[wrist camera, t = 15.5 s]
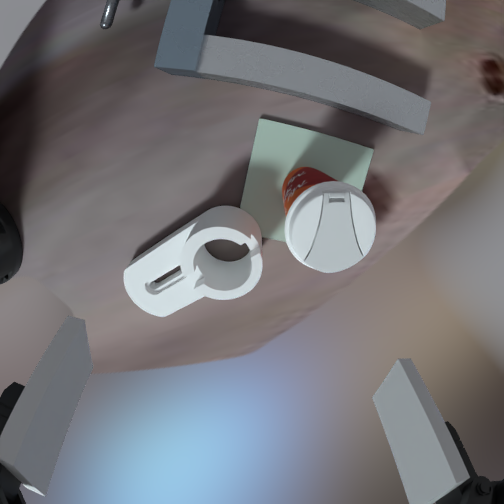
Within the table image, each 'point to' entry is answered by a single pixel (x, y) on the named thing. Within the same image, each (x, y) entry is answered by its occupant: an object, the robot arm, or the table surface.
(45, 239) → the table surface
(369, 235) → the paper cup
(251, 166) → the mat
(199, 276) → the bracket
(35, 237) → the table surface
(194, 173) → the table surface
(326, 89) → the vise
